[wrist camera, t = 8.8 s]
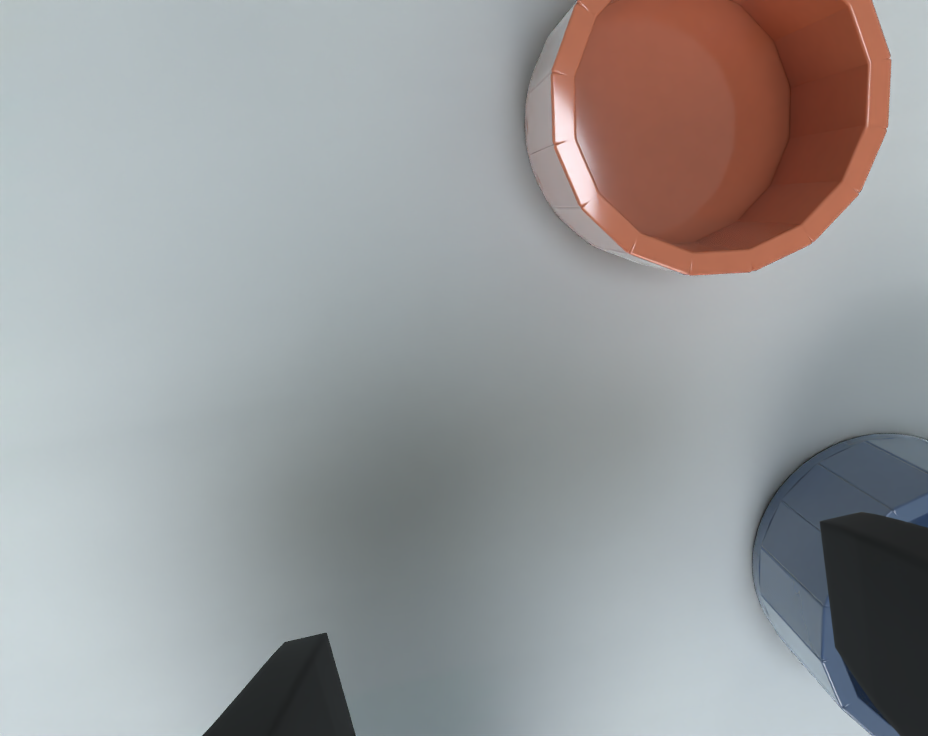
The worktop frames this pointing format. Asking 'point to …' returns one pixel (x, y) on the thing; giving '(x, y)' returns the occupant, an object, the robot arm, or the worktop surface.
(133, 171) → the worktop surface
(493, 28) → the worktop surface
